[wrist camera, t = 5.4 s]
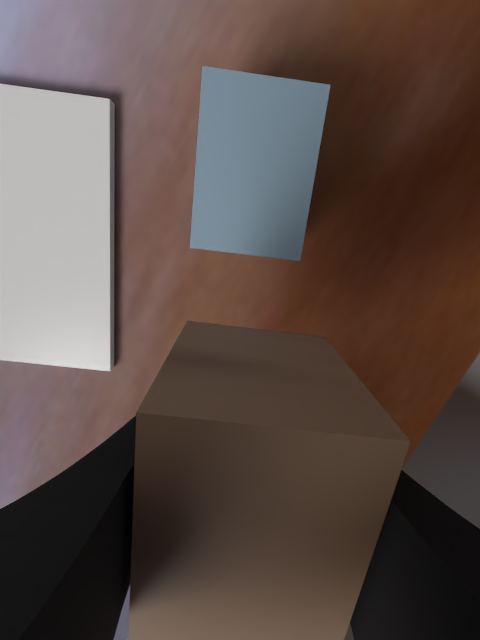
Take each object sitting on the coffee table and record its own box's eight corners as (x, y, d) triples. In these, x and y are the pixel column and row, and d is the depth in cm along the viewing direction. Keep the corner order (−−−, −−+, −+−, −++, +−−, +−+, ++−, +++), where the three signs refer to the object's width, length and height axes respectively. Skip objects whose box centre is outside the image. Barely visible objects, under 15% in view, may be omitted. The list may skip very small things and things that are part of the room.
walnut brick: (292, 487, 11) (332, 674, 7) (174, 475, 11) (127, 659, 6) (325, 337, 10) (410, 441, 5) (187, 320, 10) (136, 412, 5)
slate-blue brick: (282, 252, 17) (300, 261, 12) (203, 242, 17) (189, 247, 12) (301, 130, 15) (330, 84, 10) (213, 118, 15) (202, 66, 10)
